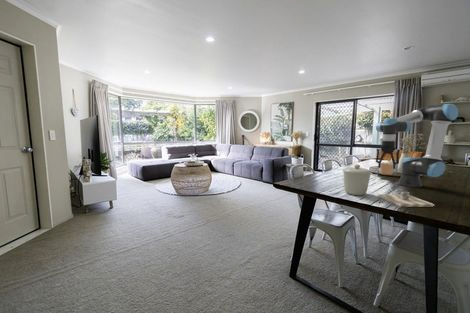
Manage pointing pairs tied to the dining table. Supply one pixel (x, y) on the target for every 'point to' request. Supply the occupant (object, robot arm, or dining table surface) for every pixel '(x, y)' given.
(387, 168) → the orange block
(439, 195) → the dining table surface
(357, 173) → the canister
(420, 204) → the cream flat piece
